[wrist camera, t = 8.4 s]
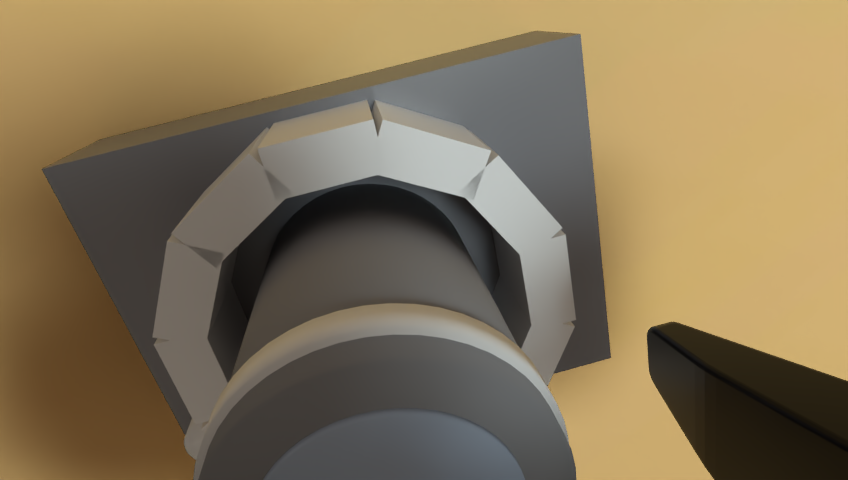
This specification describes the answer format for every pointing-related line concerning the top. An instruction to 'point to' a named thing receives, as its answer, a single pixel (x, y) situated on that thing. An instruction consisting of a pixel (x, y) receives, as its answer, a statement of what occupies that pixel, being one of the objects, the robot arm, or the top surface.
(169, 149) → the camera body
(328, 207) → the lens
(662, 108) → the top surface
